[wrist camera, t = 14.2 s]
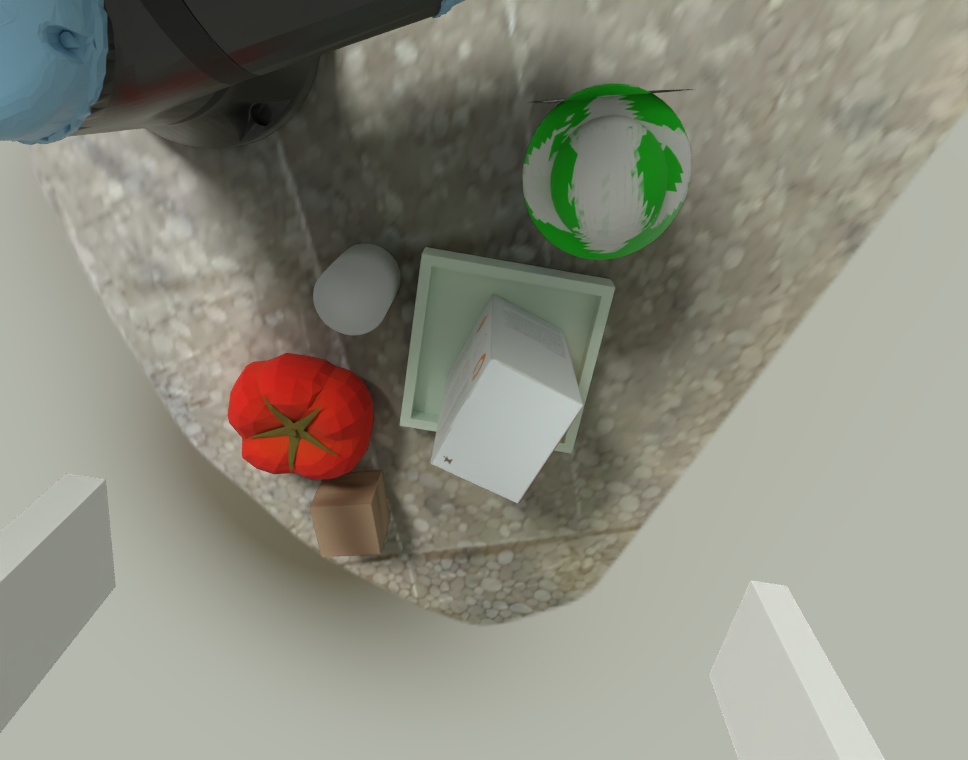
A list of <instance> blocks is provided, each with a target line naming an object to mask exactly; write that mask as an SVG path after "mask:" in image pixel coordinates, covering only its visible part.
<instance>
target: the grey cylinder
mask: <svg viewBox="0 0 968 760" xmlns="http://www.w3.org/2000/svg"><path fill="white" fill-rule="evenodd" d="M400 283H401V274H400V269H399V266H398V264H397V262H396V261H395V259H394V258H393V256H392V255H391V254H390V253H389V252H387V251H386V250H385V249H383V248H381V247H379V246H376V245H373V244H357V245H354V246H352V247H350V248H348V249H347V250H345V251H344V252H343V253H342V254H341V255H340V256H339V257H338V258H337V259H336V260H335V261H334V262H333V263H332V264H331V265H330V266H329V267H328V268H327V269H326V270H325V271H324V272H323V273H322V274H321V275H320V277H319V278H318V280H317V281H316V284H315V287H314V291H313V301H314V306H315V309H316V311H317V313H318V315H319V317H320V318H321V319H322V321H323V322H324V323H325V324H326V325H328V326H329V327H330V328H332V329H333V330H335V331H337V332H339V333H342V334H346V335H362V334H365V333H368V332H370V331H372V330H374V329H375V328H376V327H377V326H378V325H379V324H380V323H381V322H382V320H383V319H384V317H385V315H386V313H387V311H388V309H389V307H390V306H391V304H392V302H393V300H394V298H395V296H396V294H397V292H398V290H399V288H400Z"/></svg>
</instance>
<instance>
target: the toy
mask: <svg viewBox="0 0 968 760" xmlns="http://www.w3.org/2000/svg"><path fill="white" fill-rule="evenodd" d="M687 90H693V89H687ZM671 91H682V90H659V91H646V90H644V89H641V88H639V87H635V86H631V85H625V84H604V85H598V86H594V87H590V88H587V89H584V90H582V91H579V92H577V93H575V94H573V95H572V96H570V97H568V98H567V99H557V100H546V101H535V103H551V102H561V103H560V104H558V105H557V106H556V107H555V108H554V109H553V110H552V111H551V112H550V113H549V114H548V115H547V116H546V117H545V119H544V120H543V121H542V122H541V124H540V125H539V126H538V128H537V130H536V132H535V134H534V135H533V137H532V139H531V141H530V144H529V147H528V149H527V152H526V156H525V160H524V166H523V175H522V185H523V194H524V199H525V203H526V206H527V209H528V212H529V214H530V216H531V218H532V220H533V222H534V224H535V225H536V227H537V228H538V230H539V231H540V232H541V233H542V234H543V236H544V237H545V238H546V239H547V240H548V241H550V242H551V243H552V244H553V245H554V246H556V247H557V248H559V249H561V250H563V251H564V252H566V253H568V254H571V255H574V256H577V257H580V258H585V259H592V260H607V259H614V258H619V257H623V256H626V255H629V254H631V253H634V252H636V251H638V250H640V249H642V248H644V247H645V246H647V245H648V244H650V243H651V242H653V241H654V240H655V239H656V238H658V237H659V236H660V235H661V234H662V233H663V232H664V231H665V230H666V229H667V228H668V226H669V225H670V224H671V223H672V221H673V220H674V218H675V217H676V215H677V214H678V212H679V210H680V208H681V206H682V204H683V202H684V199H685V197H686V194H687V191H688V187H689V183H690V177H691V161H692V160H691V150H690V145H689V141H688V138H687V135H686V132H685V130H684V128H683V125H682V123H681V121H680V120H679V118H678V117H677V116H676V114H675V113H674V111H673V110H672V109H671V108H670V107H669V106H668V105H667V104H666V103H665V102H664V101H663V100H661V99H660V98H658V97H657V96H655V95H654V94H652V93H661V92H671Z"/></svg>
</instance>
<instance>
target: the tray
mask: <svg viewBox="0 0 968 760" xmlns="http://www.w3.org/2000/svg"><path fill="white" fill-rule="evenodd" d="M614 291H615V286H614V284H613V282H612V280H611V279H606V278H601V277H595V276H589V275H583V274H578V273H572V272H566V271H561V270H555V269H549V268H543V267H538V266H532V265H526V264H520V263H515V262H509V261H503V260H498V259H492V258H486V257H480V256H475V255H469V254H463V253H457V252H452V251H446V250H440V249H435V248H429V247H425V249H424V250H423V252H422V256H421V264H420V271H419V279H418V287H417V295H416V302H415V310H414V318H413V325H412V333H411V341H410V349H409V356H408V364H407V372H406V380H405V387H404V395H403V403H402V410H401V418H400V426H405V427H411V428H417V429H423V430H429V431H435V432H436V431H437V426H438V421H439V416H440V412H441V407H442V402H443V396H444V390H445V384H446V378H447V376H448V374H449V372H450V370H451V368H452V366H453V364H454V362H455V361H456V359H457V357H458V355H459V353H460V351H461V350H462V348H463V346H464V344H465V342H466V341H467V339H468V337H469V335H470V333H471V331H472V330H473V328H474V326H475V324H476V322H477V321H478V319H479V317H480V315H481V314H482V312H483V310H484V308H485V306H486V305H487V303H488V301H489V300H490V298H491V296H492V295H493V294H494V295H497V296H499V297H501V298H502V299H504V300H506V301H508V302H510V303H512V304H514V305H516V306H518V307H520V308H521V309H523V310H525V311H527V312H529V313H531V314H533V315H535V316H537V317H539V318H541V319H542V320H544V321H546V322H548V323H550V324H552V325H554V326H556V327H558V328H560V329H562V330H563V331H564V334H565V338H566V342H567V345H568V349H569V353H570V357H571V360H572V364H573V368H574V372H575V376H576V380H577V383H578V387H579V391H580V395H581V398H582V402H583V408H582V409H581V411H580V412H579V414H578V415H577V417H576V418H575V420H574V421H573V423H572V424H571V426H570V427H569V429H568V430H567V432H566V433H565V435H564V436H563V438H562V439H561V441H560V442H559V444H558V445H557V447H556V448H555V450H554V451H558V452H564V453H570V454H572V451H573V447H574V444H575V440H576V436H577V432H578V428H579V425H580V421H581V417H582V413H583V409H584V406H585V402H586V398H587V394H588V390H589V386H590V383H591V379H592V375H593V371H594V367H595V364H596V360H597V356H598V352H599V348H600V345H601V341H602V337H603V333H604V329H605V325H606V322H607V318H608V314H609V310H610V306H611V303H612V299H613V295H614Z"/></svg>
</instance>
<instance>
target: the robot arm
mask: <svg viewBox="0 0 968 760" xmlns="http://www.w3.org/2000/svg"><path fill="white" fill-rule="evenodd" d="M463 1H465V0H0V141H2V140H3V141H6V140H7V141H9V140H10V141H18V142H21V143H23V144H29V145H33V144H36V143H39V144H48V143H52V142H56V141H59V140H62V139H63V138H65V137H68V136H77V135H86V134H95V133H104V132H113V131H122V130H131V129H140V128H146V129H147V130H149V131H151V132H153V133H155V134H156V135H158V136H161V137H163V138H165V139H167V140H170V141H173V142H176V143H179V144H182V145H187V146H191V147H197V148H206V149H221V148H230V147H235V146H240V145H245V144H249V143H252V142H255V141H258V140H261V139H263V138H265V137H267V136H269V135H270V134H272V133H274V132H275V131H277V130H278V129H280V128H281V127H282V126H283V125H284V124H286V123H287V122H288V121H289V120H290V119H291V118H292V117H293V115H294V114H295V113H296V112H297V111H298V109H299V108H300V106H301V105H302V103H303V102H304V100H305V98H306V97H307V95H308V93H309V91H310V88H311V86H312V83H313V81H314V78H315V74H316V71H317V67H318V62H319V56H320V55H322V54H325V53H327V52H330V51H333V50H336V49H339V48H342V47H345V46H348V45H351V44H354V43H356V42H359V41H362V40H365V39H368V38H371V37H374V36H377V35H380V34H383V33H385V32H388V31H391V30H394V29H397V28H400V27H403V26H406V25H409V24H412V23H414V22H417V21H420V20H423V19H426V18H429V17H432V18H437V17H440V16H441V15H443V14H446V13H447V12H448V11H449V10H450V9H451V8H452V7H453V6H454V5H456V4H458V3H461V2H463ZM114 588H115V576H114V564H113V554H112V542H111V531H110V521H109V509H108V498H107V487H106V480H105V479H100V478H93V477H87V476H80V475H74V474H68V473H66V474H65V475H64V476H63V477H62V478H61V479H59V480H58V481H57V482H56V483H55V484H54V485H52V486H51V487H50V488H49V489H48V490H47V491H46V492H44V493H43V494H42V495H41V496H40V497H39V498H38V499H36V500H35V501H34V502H33V503H32V504H31V505H30V506H28V507H27V508H26V509H25V510H24V511H23V512H22V513H20V514H19V515H18V516H17V517H16V518H15V519H14V520H12V521H11V522H10V523H9V524H8V525H7V526H6V527H5V528H3V529H2V530H1V531H0V733H1V731H2V730H3V729H4V727H5V726H6V725H7V724H8V722H9V721H10V720H11V719H12V717H13V716H14V715H15V713H16V712H17V711H18V710H19V708H20V707H21V706H22V705H23V703H24V702H25V701H26V700H27V698H28V697H29V696H30V694H31V693H32V692H33V690H34V689H35V688H36V687H37V685H38V684H39V683H40V682H41V680H42V679H43V678H44V677H45V675H46V674H47V673H48V672H49V670H50V669H51V668H52V666H53V665H54V664H55V663H56V661H57V660H58V659H59V658H60V656H61V655H62V654H63V652H64V651H65V650H66V649H67V647H68V646H69V645H70V644H71V642H72V641H73V640H74V638H75V637H76V636H77V635H78V633H79V632H80V631H81V629H82V628H83V627H84V626H85V624H86V623H87V622H88V621H89V619H90V618H91V617H92V616H93V614H94V613H95V612H96V610H97V609H98V608H99V607H100V605H101V604H102V603H103V602H104V600H105V599H106V598H107V597H108V595H109V594H110V593H111V591H112V590H113V589H114ZM709 677H710V680H711V682H712V686H713V688H714V691H715V694H716V697H717V700H718V703H719V705H720V709H721V711H722V714H723V717H724V720H725V723H726V726H727V729H728V732H729V735H730V737H731V740H732V743H733V746H734V749H735V752H736V755H737V757H738V760H885V759H884V757H883V756H882V754H881V752H880V750H879V748H878V747H877V745H876V743H875V741H874V740H873V738H872V736H871V734H870V733H869V731H868V729H867V727H866V725H865V724H864V722H863V720H862V718H861V717H860V715H859V713H858V711H857V710H856V708H855V706H854V704H853V702H852V701H851V699H850V697H849V695H848V694H847V692H846V690H845V688H844V687H843V685H842V683H841V681H840V680H839V678H838V676H837V674H836V672H835V671H834V669H833V667H832V665H831V664H830V662H829V660H828V658H827V657H826V655H825V653H824V651H823V649H822V648H821V646H820V644H819V643H818V641H817V639H816V637H815V635H814V634H813V632H812V630H811V628H810V626H809V625H808V623H807V621H806V619H805V618H804V616H803V614H802V613H801V611H800V609H799V607H798V605H797V604H796V602H795V600H794V598H793V597H792V595H791V593H790V591H789V589H788V588H787V586H783V585H776V584H771V583H764V582H757V581H750V583H749V585H748V587H747V590H746V592H745V594H744V597H743V599H742V601H741V604H740V606H739V608H738V610H737V613H736V615H735V617H734V619H733V622H732V624H731V626H730V628H729V631H728V633H727V635H726V638H725V640H724V642H723V644H722V647H721V649H720V651H719V654H718V656H717V658H716V660H715V663H714V665H713V667H712V670H711V672H710V674H709Z"/></svg>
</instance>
